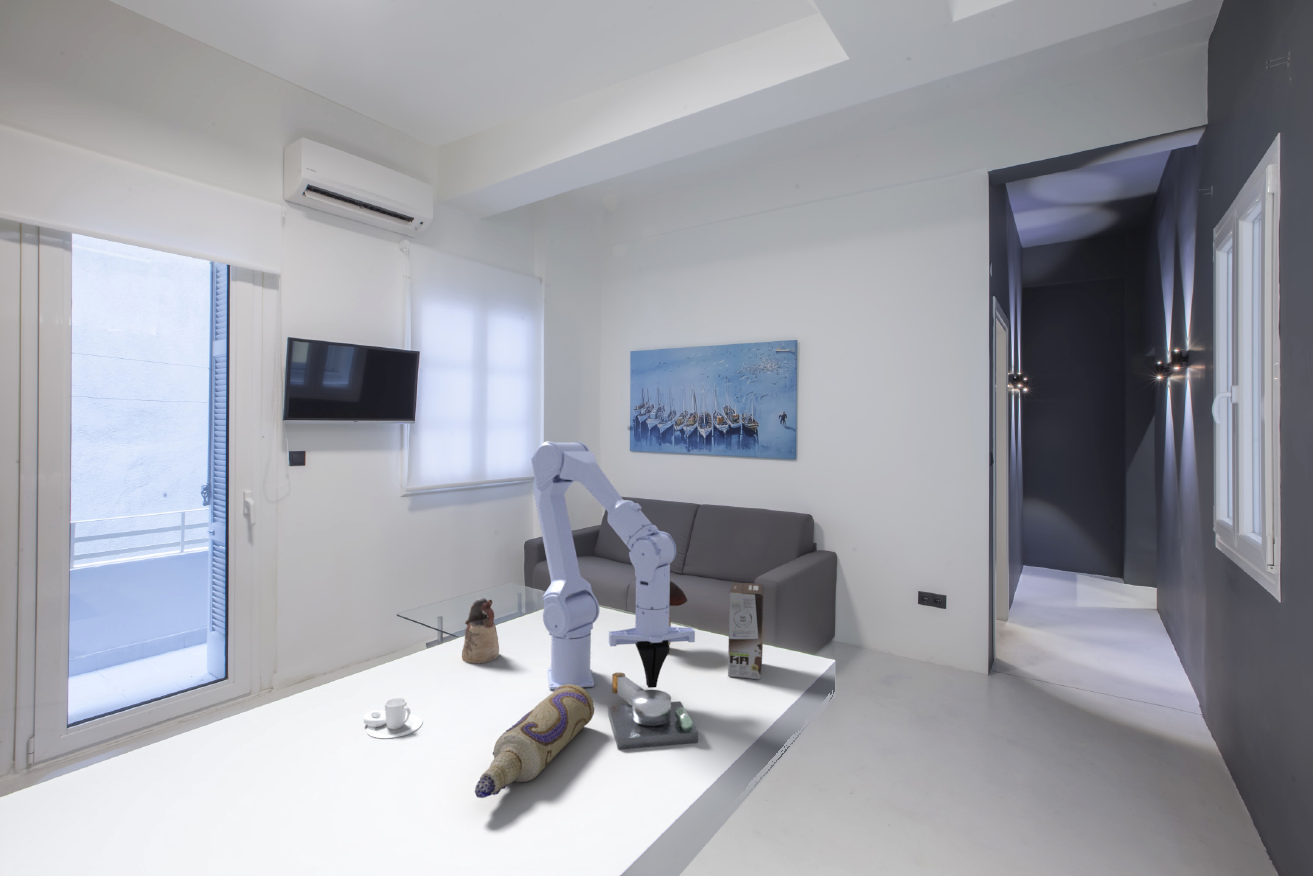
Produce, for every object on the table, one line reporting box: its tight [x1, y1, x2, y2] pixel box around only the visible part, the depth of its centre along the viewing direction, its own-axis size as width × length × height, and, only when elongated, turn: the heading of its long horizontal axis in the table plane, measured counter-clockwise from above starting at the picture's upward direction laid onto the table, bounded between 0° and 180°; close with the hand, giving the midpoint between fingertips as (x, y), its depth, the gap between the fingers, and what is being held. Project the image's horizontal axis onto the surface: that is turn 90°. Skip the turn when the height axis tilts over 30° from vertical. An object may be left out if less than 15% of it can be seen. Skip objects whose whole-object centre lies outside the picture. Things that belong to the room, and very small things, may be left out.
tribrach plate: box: [607, 700, 699, 750], centre depth 97 cm, size 11×12×4 cm
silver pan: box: [611, 672, 672, 726], centre depth 101 cm, size 15×6×3 cm, turn 31°
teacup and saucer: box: [363, 697, 423, 739], centre depth 97 cm, size 9×8×4 cm
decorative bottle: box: [474, 684, 595, 799], centre depth 86 cm, size 26×8×7 cm, turn 161°
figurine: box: [461, 597, 500, 664], centre depth 127 cm, size 7×7×12 cm
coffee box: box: [727, 582, 764, 680], centre depth 122 cm, size 9×6×16 cm
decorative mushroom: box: [668, 580, 688, 646], centre depth 133 cm, size 11×11×15 cm
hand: (651, 685), depth 106 cm, fingers closed
